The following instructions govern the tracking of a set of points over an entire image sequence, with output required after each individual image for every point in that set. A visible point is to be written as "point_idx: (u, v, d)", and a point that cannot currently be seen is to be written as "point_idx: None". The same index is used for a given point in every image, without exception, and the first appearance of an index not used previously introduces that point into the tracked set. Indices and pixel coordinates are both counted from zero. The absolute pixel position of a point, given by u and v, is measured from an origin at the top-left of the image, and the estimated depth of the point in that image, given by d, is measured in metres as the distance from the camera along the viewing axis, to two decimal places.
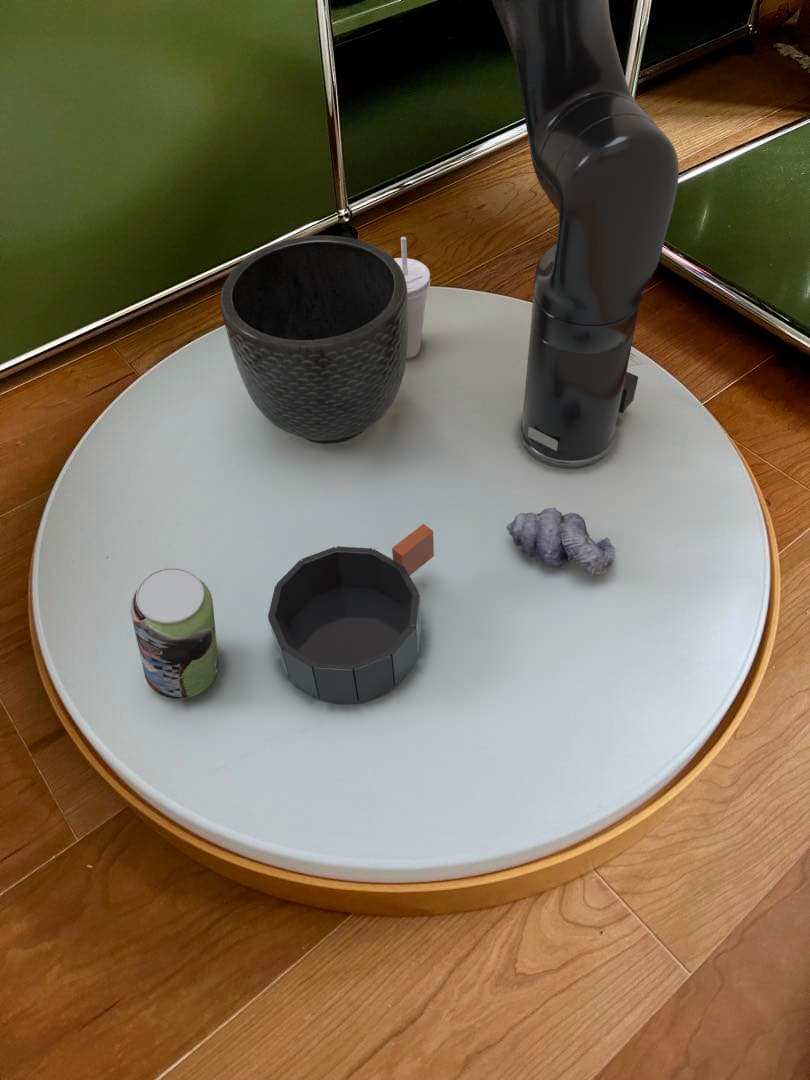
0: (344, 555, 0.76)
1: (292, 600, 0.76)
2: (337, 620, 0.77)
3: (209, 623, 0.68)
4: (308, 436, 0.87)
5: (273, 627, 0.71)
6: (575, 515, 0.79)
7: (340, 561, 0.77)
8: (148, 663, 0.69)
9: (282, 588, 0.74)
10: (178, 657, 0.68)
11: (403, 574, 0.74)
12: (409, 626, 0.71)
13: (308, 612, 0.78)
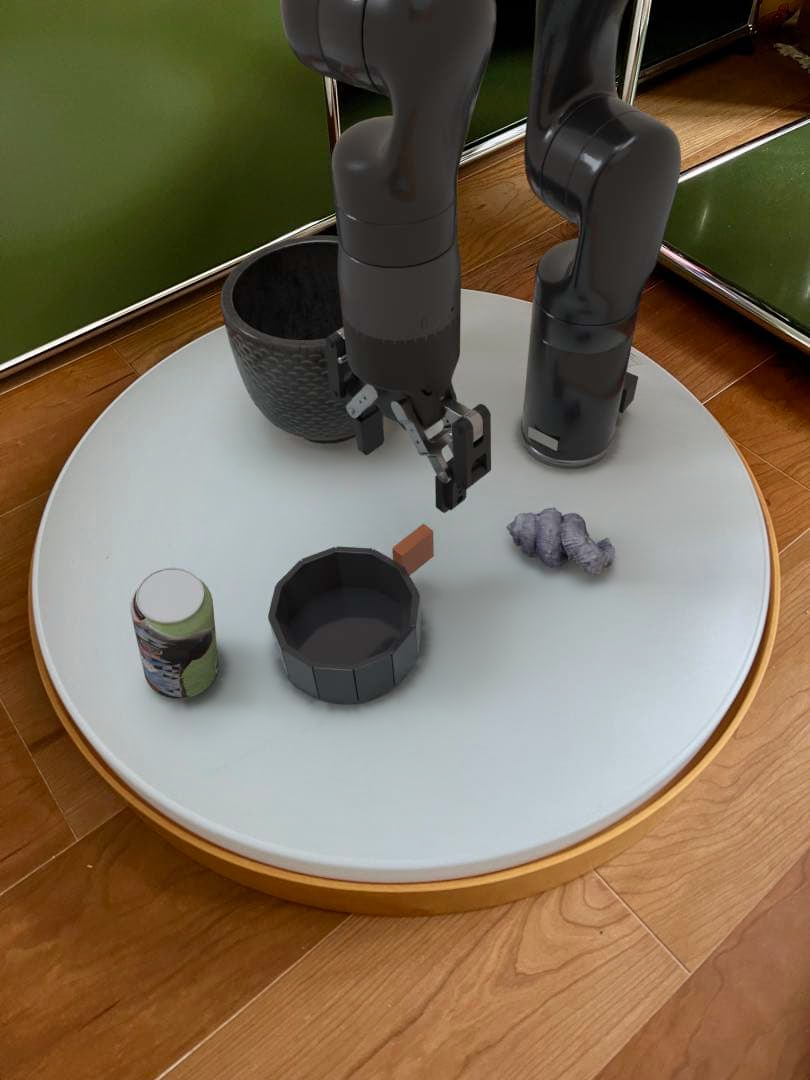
0: (344, 555, 0.76)
1: (292, 600, 0.76)
2: (337, 620, 0.77)
3: (209, 623, 0.68)
4: (308, 436, 0.87)
5: (273, 627, 0.71)
6: (575, 515, 0.79)
7: (340, 561, 0.77)
8: (148, 663, 0.69)
9: (282, 588, 0.74)
10: (178, 657, 0.68)
11: (403, 574, 0.74)
12: (409, 626, 0.71)
13: (308, 612, 0.78)
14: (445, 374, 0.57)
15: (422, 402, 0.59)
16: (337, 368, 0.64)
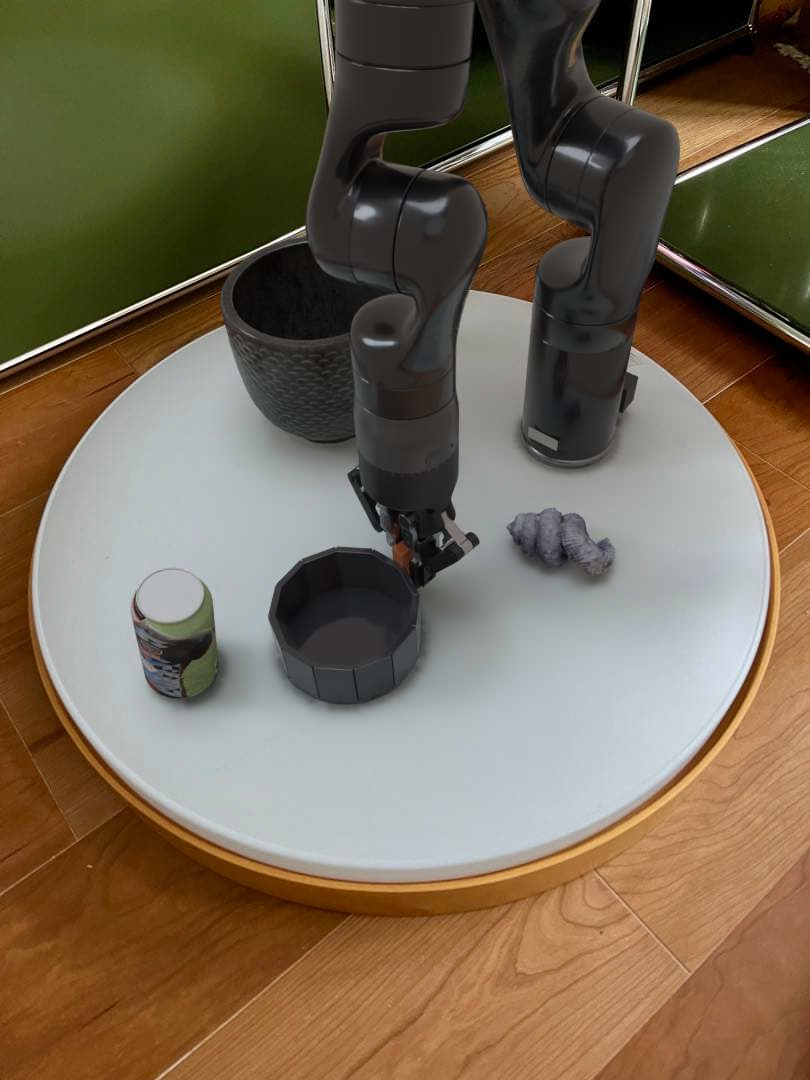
0: (344, 555, 0.76)
1: (292, 600, 0.76)
2: (337, 620, 0.77)
3: (209, 623, 0.68)
4: (308, 436, 0.87)
5: (273, 627, 0.71)
6: (575, 515, 0.79)
7: (340, 561, 0.77)
8: (148, 663, 0.69)
9: (282, 588, 0.74)
10: (178, 657, 0.68)
11: (403, 574, 0.74)
12: (409, 626, 0.71)
13: (308, 612, 0.78)
14: (445, 495, 0.66)
15: (426, 517, 0.68)
16: (365, 498, 0.74)
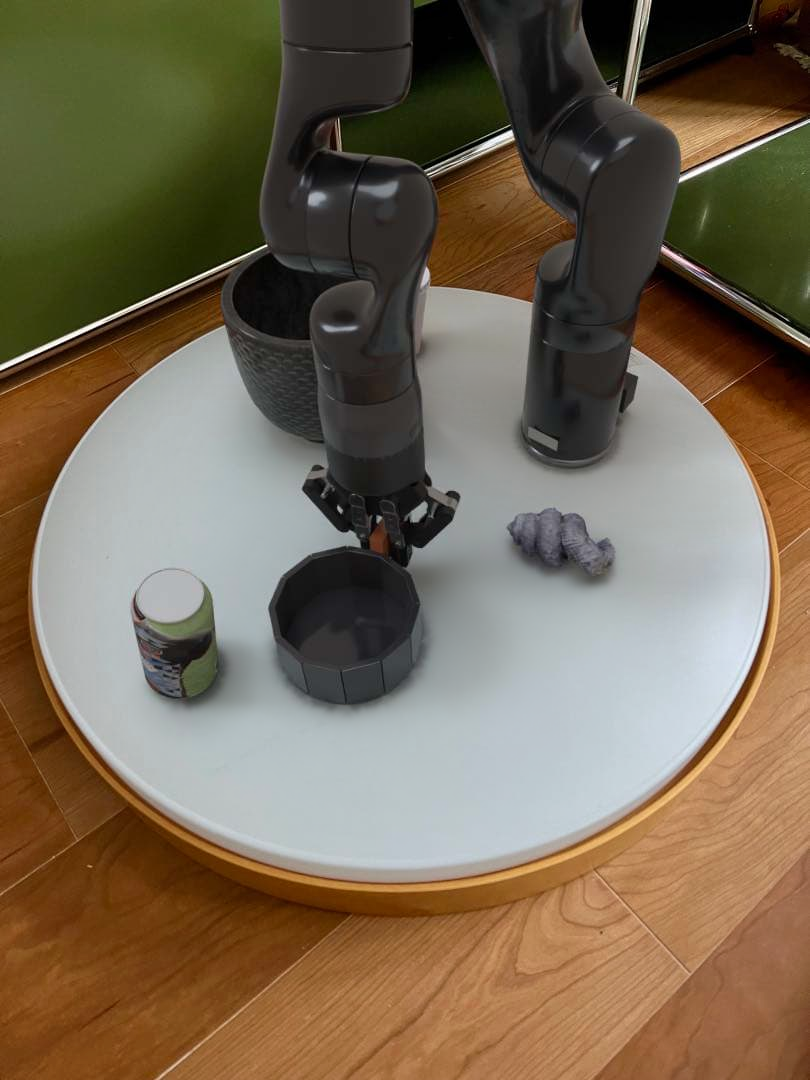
0: (321, 559, 0.76)
1: (283, 619, 0.75)
2: (330, 625, 0.77)
3: (209, 623, 0.68)
4: (308, 436, 0.87)
5: (285, 647, 0.70)
6: (575, 515, 0.79)
7: (317, 567, 0.77)
8: (148, 663, 0.69)
9: (275, 608, 0.73)
10: (178, 657, 0.68)
11: (387, 560, 0.75)
12: (414, 605, 0.72)
13: (298, 627, 0.77)
14: (423, 464, 0.68)
15: (409, 492, 0.69)
16: (327, 504, 0.74)
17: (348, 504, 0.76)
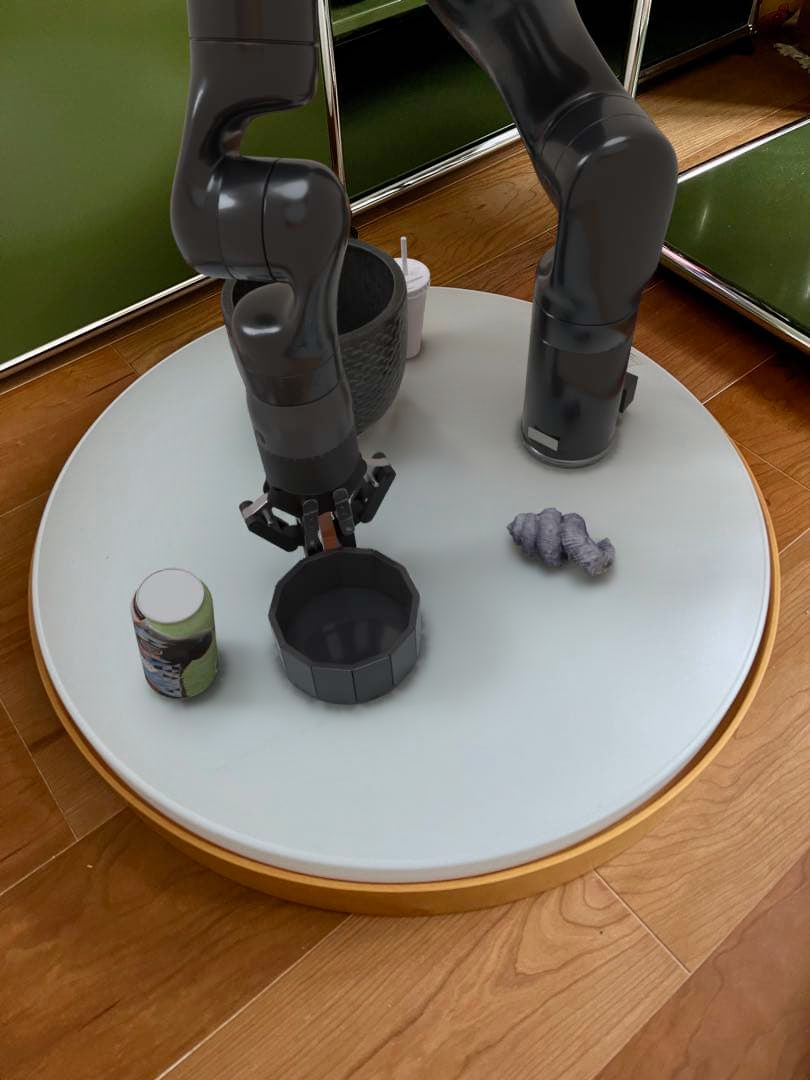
0: (288, 583, 0.74)
1: None
2: (323, 638, 0.76)
3: (209, 623, 0.68)
4: None
5: (325, 667, 0.69)
6: (575, 515, 0.79)
7: (286, 593, 0.75)
8: (148, 663, 0.69)
9: (287, 643, 0.70)
10: (178, 657, 0.68)
11: (346, 550, 0.76)
12: (400, 570, 0.74)
13: None
14: None
15: (353, 471, 0.71)
16: (275, 530, 0.72)
17: (282, 524, 0.75)
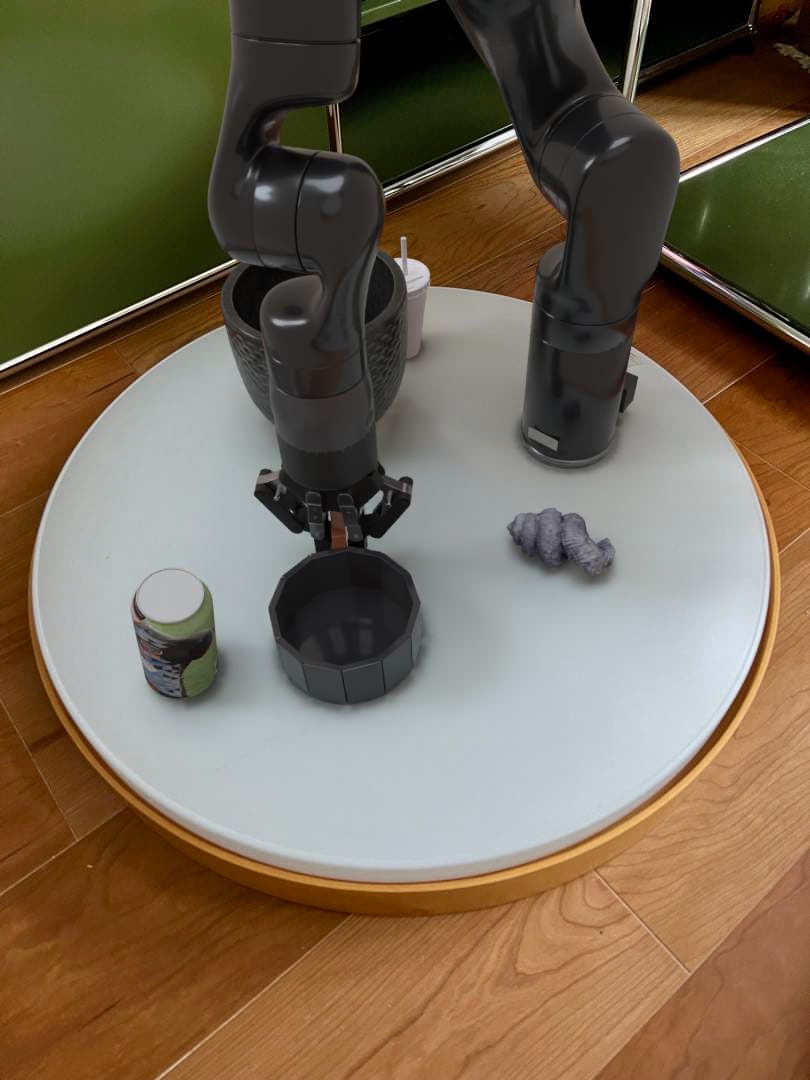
0: (293, 577, 0.75)
1: None
2: (324, 636, 0.76)
3: (209, 623, 0.68)
4: None
5: (316, 665, 0.69)
6: (575, 515, 0.79)
7: (291, 587, 0.75)
8: (148, 663, 0.69)
9: (282, 637, 0.71)
10: (178, 657, 0.68)
11: (354, 550, 0.76)
12: (405, 576, 0.74)
13: None
14: None
15: (365, 483, 0.70)
16: (280, 506, 0.73)
17: (298, 505, 0.76)
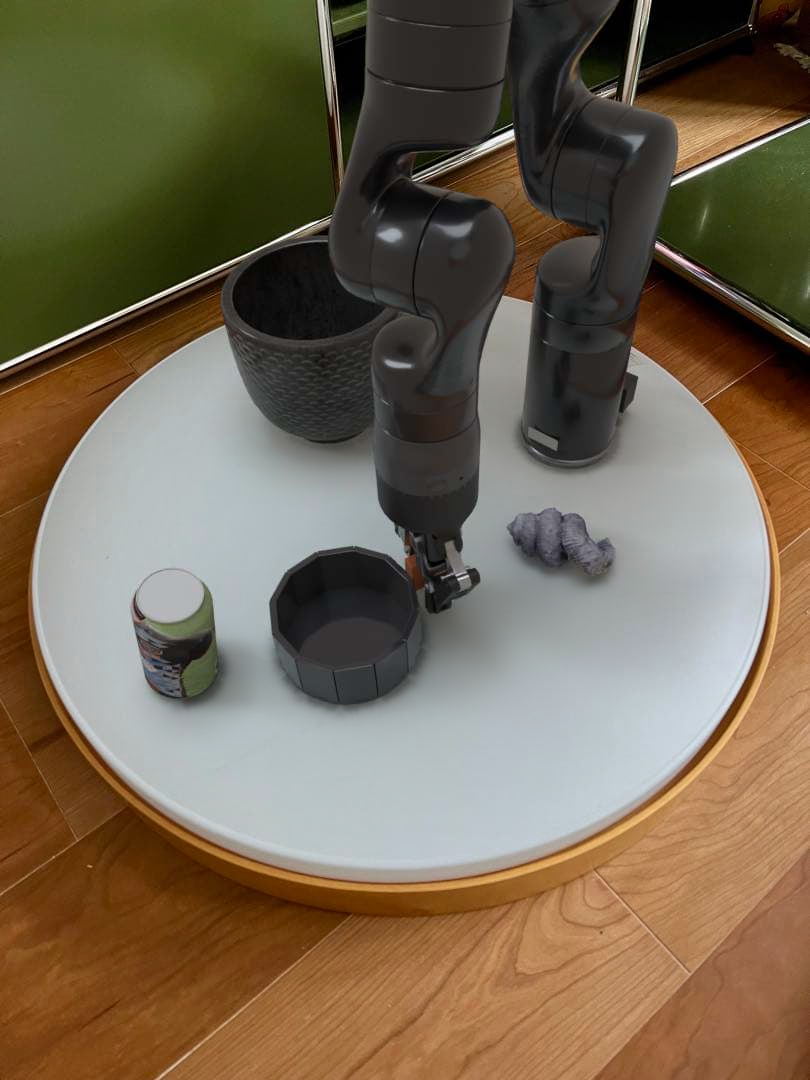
0: (360, 555, 0.76)
1: (303, 590, 0.77)
2: (343, 618, 0.78)
3: (209, 623, 0.68)
4: (308, 436, 0.87)
5: (271, 612, 0.72)
6: (575, 515, 0.79)
7: (356, 561, 0.77)
8: (148, 663, 0.69)
9: (291, 575, 0.75)
10: (178, 657, 0.68)
11: (410, 587, 0.73)
12: (400, 640, 0.70)
13: (318, 604, 0.79)
14: (451, 526, 0.65)
15: (431, 541, 0.66)
16: None
17: None
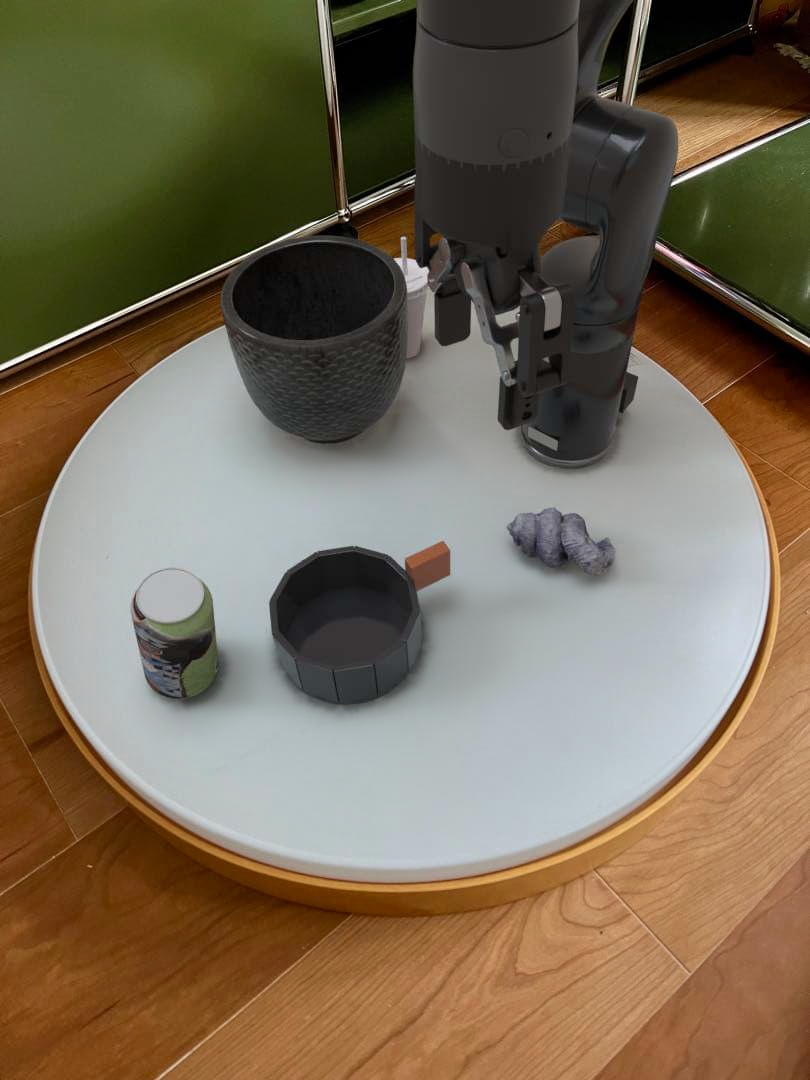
0: (360, 555, 0.76)
1: (303, 589, 0.77)
2: (343, 618, 0.78)
3: (209, 623, 0.68)
4: (308, 436, 0.87)
5: (271, 612, 0.72)
6: (575, 515, 0.79)
7: (356, 561, 0.77)
8: (148, 663, 0.69)
9: (291, 575, 0.75)
10: (178, 657, 0.68)
11: (410, 587, 0.73)
12: (400, 640, 0.70)
13: (318, 604, 0.79)
14: (528, 232, 0.43)
15: (495, 268, 0.45)
16: (422, 222, 0.52)
17: None
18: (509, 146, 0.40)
